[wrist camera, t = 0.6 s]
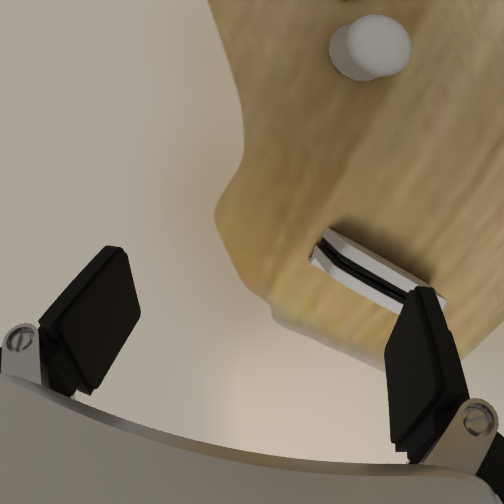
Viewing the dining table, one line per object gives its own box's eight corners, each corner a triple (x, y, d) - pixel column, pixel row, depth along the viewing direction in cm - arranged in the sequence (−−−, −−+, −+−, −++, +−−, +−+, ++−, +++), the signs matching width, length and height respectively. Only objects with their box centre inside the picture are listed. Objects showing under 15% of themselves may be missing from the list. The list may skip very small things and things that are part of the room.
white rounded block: (304, 258, 39) (317, 287, 30) (323, 223, 38) (342, 243, 28) (407, 310, 41) (438, 346, 31) (425, 281, 39) (461, 310, 30)
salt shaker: (368, 18, 23) (400, -11, 13) (395, 68, 26) (442, 70, 15) (316, 39, 26) (317, 20, 15) (344, 89, 28) (363, 101, 17)
